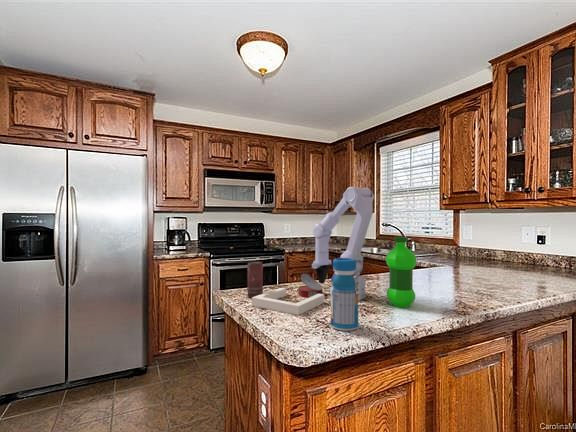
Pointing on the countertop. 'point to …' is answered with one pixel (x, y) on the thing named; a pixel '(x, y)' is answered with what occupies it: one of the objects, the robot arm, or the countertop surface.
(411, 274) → the plastic bottle
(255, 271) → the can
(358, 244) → the robot arm
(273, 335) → the countertop surface
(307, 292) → the canned food
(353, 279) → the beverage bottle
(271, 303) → the notched board
